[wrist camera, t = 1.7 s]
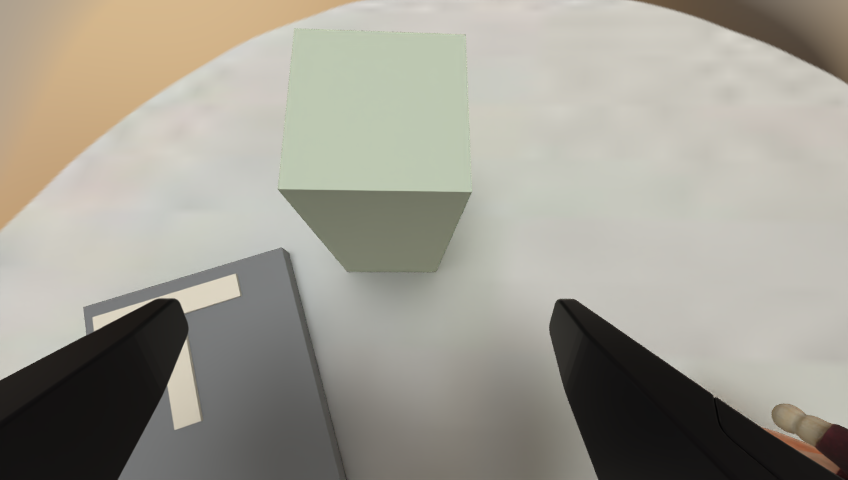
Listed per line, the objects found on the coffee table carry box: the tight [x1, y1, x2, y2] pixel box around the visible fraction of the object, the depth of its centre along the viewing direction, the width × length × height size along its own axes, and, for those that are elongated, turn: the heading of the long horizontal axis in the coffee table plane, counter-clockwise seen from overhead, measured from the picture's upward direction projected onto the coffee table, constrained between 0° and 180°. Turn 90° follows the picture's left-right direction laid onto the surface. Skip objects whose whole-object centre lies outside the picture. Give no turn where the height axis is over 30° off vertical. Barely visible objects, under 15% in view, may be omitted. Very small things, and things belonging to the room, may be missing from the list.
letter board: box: [83, 248, 346, 480], centre depth 18 cm, size 13×10×1 cm
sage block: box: [278, 29, 472, 272], centre depth 16 cm, size 5×5×12 cm
